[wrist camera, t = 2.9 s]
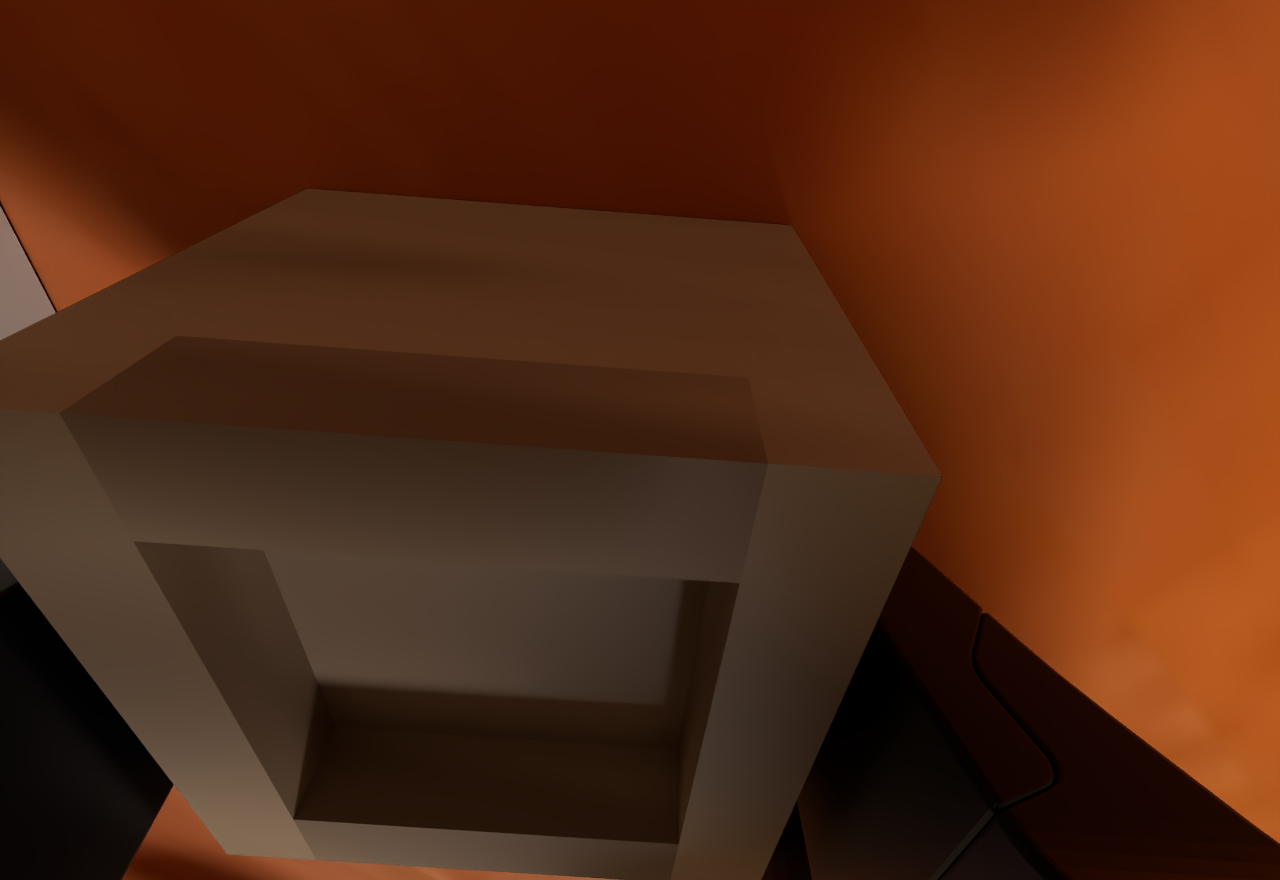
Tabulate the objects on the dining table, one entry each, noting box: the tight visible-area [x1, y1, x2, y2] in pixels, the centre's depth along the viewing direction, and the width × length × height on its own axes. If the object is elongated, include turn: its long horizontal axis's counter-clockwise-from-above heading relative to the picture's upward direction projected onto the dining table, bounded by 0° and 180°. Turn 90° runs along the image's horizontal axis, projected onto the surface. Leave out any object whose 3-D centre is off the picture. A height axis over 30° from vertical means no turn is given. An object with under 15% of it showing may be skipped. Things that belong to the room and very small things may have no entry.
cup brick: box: [0, 188, 942, 880], centre depth 7 cm, size 6×6×5 cm
